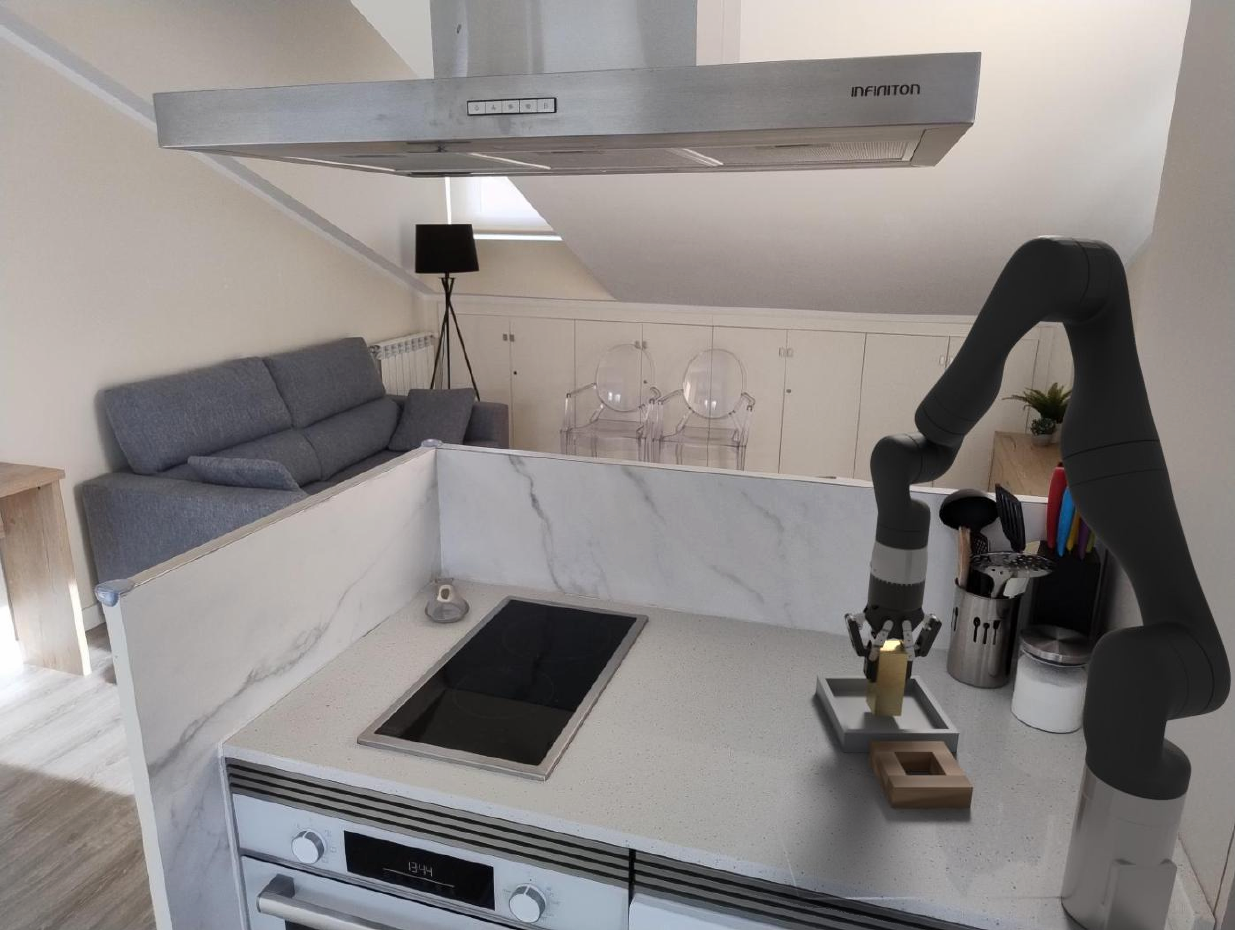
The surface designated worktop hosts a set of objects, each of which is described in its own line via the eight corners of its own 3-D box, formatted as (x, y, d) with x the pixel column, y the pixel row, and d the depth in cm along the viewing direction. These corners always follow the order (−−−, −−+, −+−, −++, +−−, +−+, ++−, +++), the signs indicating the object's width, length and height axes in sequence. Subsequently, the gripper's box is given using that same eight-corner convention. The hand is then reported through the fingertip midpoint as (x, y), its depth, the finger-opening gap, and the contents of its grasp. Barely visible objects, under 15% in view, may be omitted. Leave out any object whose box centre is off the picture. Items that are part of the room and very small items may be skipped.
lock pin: (901, 716, 127) (908, 653, 125) (873, 716, 127) (880, 653, 125) (892, 701, 131) (898, 640, 129) (865, 701, 131) (871, 640, 129)
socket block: (970, 807, 111) (973, 787, 110) (891, 807, 111) (894, 787, 110) (940, 760, 120) (943, 741, 120) (868, 760, 120) (870, 741, 119)
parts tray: (956, 752, 122) (959, 733, 122) (842, 752, 122) (844, 733, 121) (916, 692, 138) (918, 675, 137) (815, 692, 137) (817, 675, 137)
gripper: (855, 581, 120) (845, 693, 124) (958, 582, 120) (944, 694, 125) (840, 561, 127) (831, 667, 132) (938, 561, 127) (925, 668, 132)
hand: (886, 679), depth 128 cm, fingers closed on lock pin, 4 cm apart
